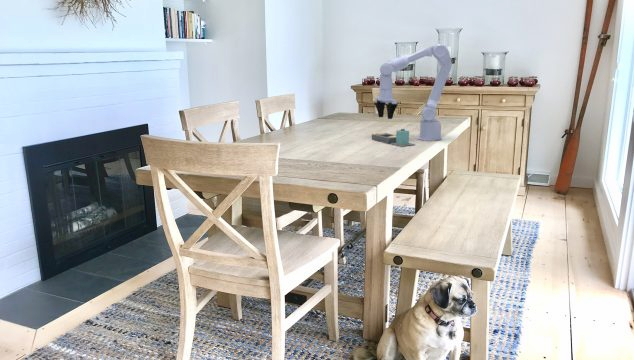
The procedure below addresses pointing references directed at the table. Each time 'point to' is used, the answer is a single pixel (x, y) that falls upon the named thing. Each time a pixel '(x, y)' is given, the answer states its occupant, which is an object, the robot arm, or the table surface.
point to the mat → (402, 145)
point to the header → (384, 137)
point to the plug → (402, 137)
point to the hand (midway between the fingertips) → (385, 118)
